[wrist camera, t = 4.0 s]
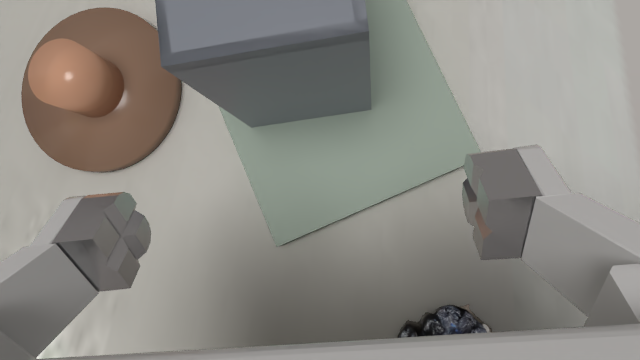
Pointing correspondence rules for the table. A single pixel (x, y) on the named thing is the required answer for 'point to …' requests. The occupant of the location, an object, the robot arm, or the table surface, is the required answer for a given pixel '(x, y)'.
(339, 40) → the gray box
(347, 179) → the mat
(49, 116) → the brown knobbed lid
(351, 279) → the table surface
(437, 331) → the blueberries
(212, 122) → the table surface
